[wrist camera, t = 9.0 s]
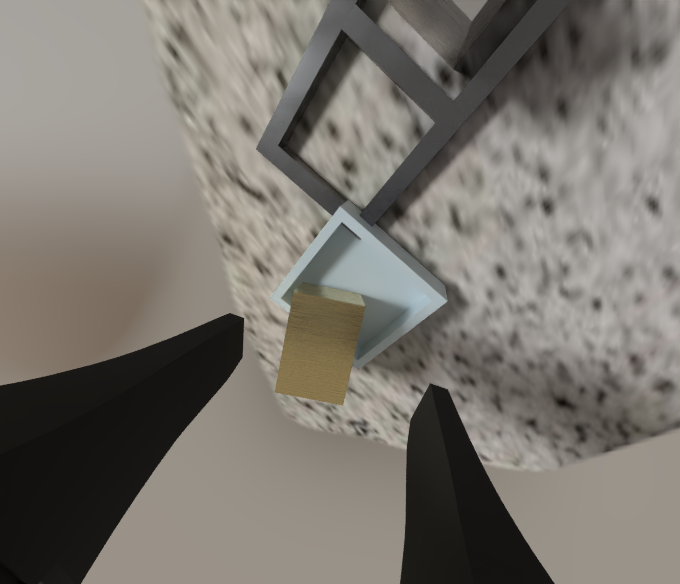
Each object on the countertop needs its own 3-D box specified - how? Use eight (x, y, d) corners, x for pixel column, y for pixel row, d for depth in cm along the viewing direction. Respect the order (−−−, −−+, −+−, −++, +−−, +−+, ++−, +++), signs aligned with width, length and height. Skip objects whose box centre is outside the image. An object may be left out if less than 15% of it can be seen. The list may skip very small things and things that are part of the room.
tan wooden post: (365, 306, 15) (342, 405, 16) (360, 293, 19) (342, 373, 20) (293, 291, 15) (274, 392, 16) (302, 281, 19) (287, 363, 20)
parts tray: (445, 285, 18) (447, 301, 16) (363, 351, 22) (358, 369, 20) (348, 199, 17) (340, 206, 15) (282, 285, 21) (269, 297, 20)
